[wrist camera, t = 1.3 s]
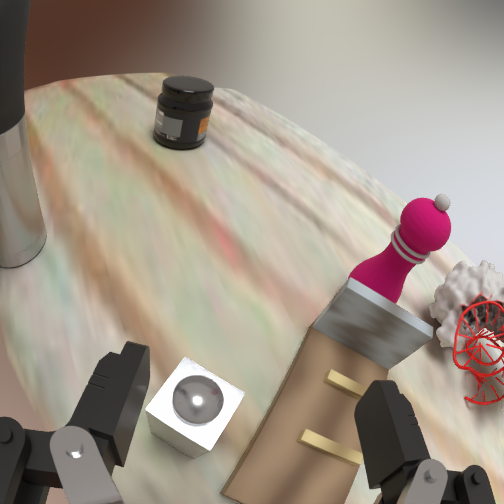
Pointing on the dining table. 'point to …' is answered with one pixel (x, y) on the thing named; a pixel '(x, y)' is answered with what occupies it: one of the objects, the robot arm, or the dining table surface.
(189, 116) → the supplement container
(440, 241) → the pepper mill
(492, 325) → the lumpy white molecule
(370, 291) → the wooden base metal fixture
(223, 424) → the metal square bar
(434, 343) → the dining table surface
